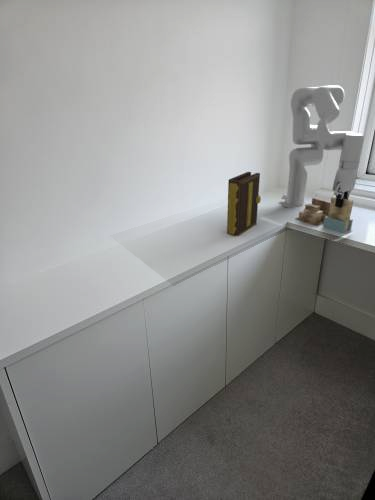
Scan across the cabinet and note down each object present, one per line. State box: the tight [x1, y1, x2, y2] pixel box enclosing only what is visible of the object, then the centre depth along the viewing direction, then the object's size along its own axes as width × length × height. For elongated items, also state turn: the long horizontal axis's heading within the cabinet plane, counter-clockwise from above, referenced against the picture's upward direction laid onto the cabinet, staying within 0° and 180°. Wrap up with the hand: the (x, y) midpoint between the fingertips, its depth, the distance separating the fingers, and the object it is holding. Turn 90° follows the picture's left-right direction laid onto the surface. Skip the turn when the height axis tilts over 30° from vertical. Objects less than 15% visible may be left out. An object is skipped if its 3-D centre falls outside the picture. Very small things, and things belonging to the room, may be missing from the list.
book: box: [226, 171, 262, 237], centre depth 151 cm, size 22×8×25 cm, turn 143°
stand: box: [322, 216, 354, 234], centre depth 149 cm, size 10×9×6 cm
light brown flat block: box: [328, 195, 354, 232], centre depth 147 cm, size 9×2×14 cm, turn 35°
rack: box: [294, 197, 331, 227], centre depth 160 cm, size 13×14×9 cm
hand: (340, 205), depth 145 cm, fingers open, 2 cm apart
